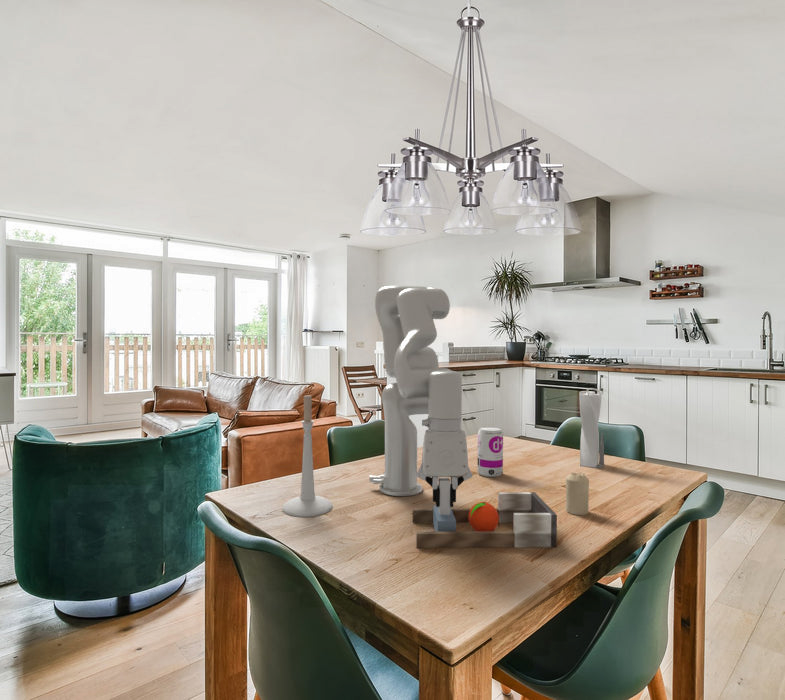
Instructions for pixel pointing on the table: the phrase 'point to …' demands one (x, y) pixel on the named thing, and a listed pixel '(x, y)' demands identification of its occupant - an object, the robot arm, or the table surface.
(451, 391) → the robot arm
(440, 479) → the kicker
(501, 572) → the table surface
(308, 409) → the candlestick
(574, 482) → the candle
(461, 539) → the frame
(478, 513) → the clementine
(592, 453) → the skyscraper
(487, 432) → the supplement can
